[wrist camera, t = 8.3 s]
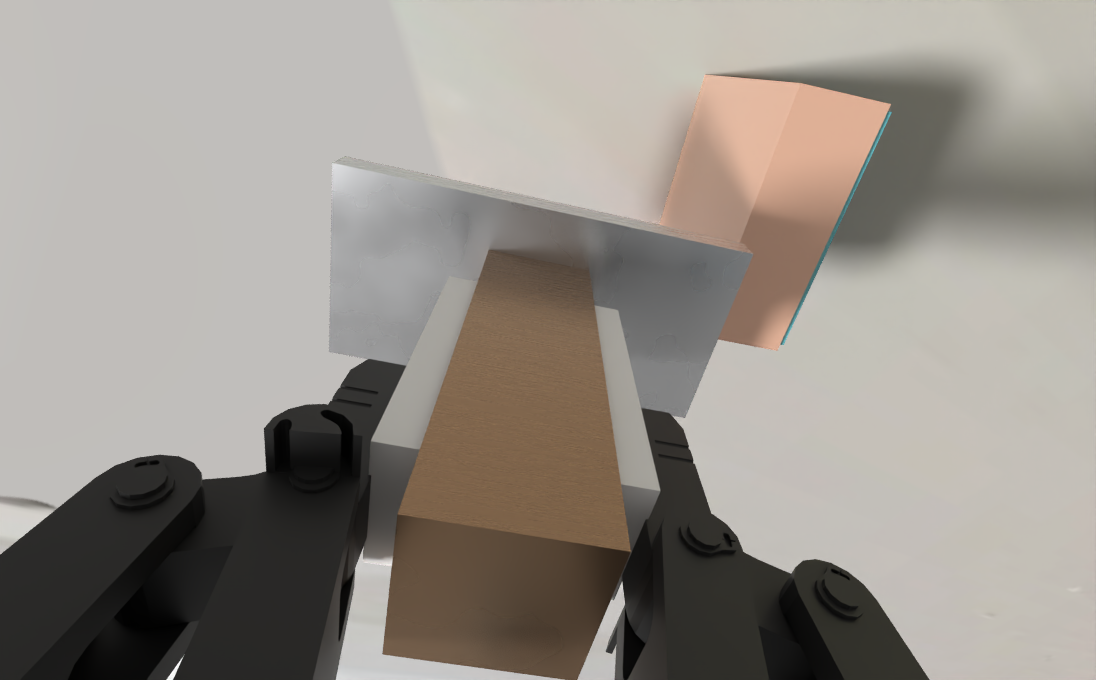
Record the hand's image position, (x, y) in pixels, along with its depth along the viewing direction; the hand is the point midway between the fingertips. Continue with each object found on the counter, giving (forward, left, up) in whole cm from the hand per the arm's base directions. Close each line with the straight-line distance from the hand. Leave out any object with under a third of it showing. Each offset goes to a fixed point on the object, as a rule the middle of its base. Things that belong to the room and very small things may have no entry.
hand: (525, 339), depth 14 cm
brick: (-9, -3, -18) cm, 20 cm away
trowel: (0, 0, -3) cm, 3 cm away
